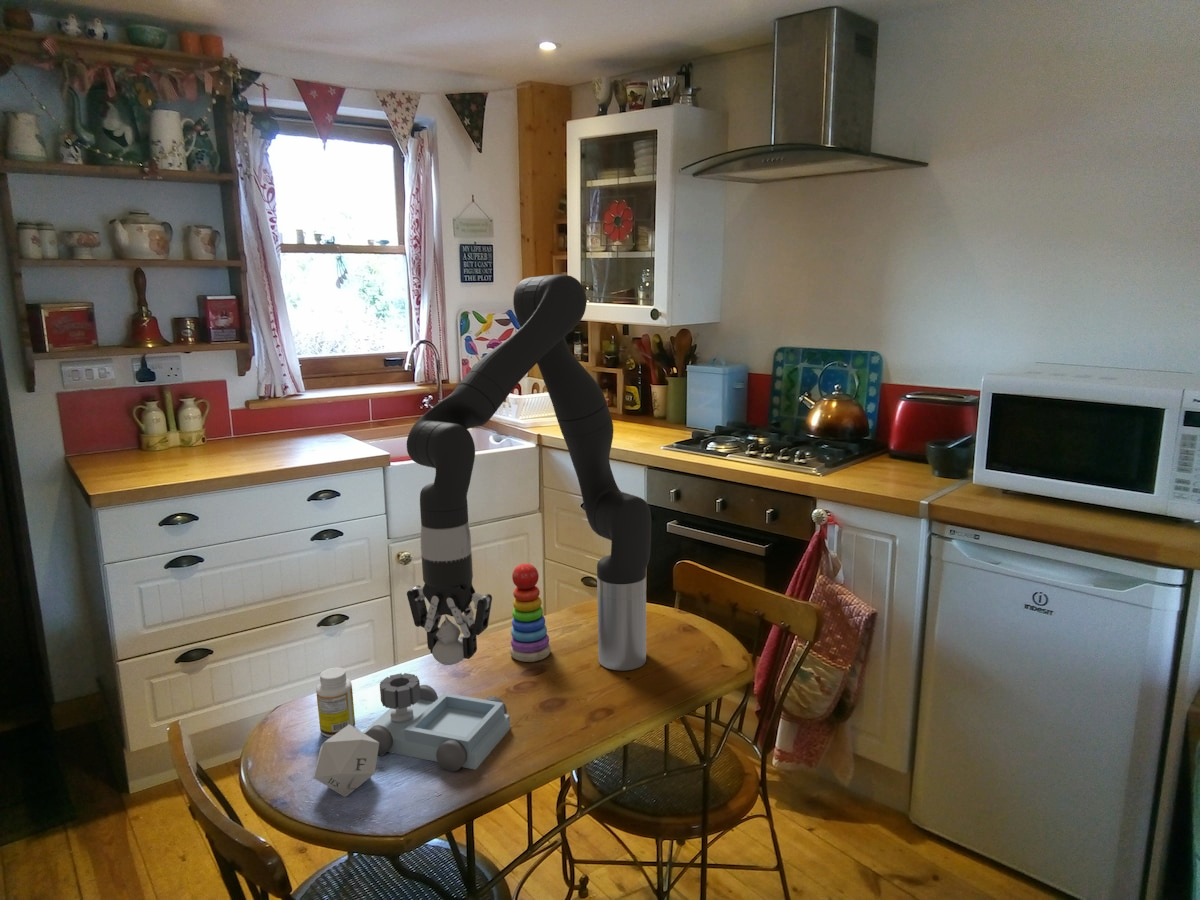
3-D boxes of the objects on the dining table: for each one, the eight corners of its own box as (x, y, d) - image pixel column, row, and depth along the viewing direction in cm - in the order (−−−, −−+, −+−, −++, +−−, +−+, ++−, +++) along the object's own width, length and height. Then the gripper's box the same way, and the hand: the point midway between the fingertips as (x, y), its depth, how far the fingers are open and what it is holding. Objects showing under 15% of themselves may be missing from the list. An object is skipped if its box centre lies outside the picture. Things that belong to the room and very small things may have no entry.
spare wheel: (395, 687, 137) (394, 671, 136) (426, 693, 135) (425, 676, 134) (374, 705, 131) (372, 688, 131) (406, 711, 129) (405, 693, 129)
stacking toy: (532, 642, 166) (529, 554, 162) (559, 654, 161) (556, 563, 157) (501, 655, 161) (498, 564, 157) (528, 667, 155) (525, 574, 151)
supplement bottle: (336, 718, 138) (331, 662, 136) (362, 724, 136) (357, 668, 134) (312, 735, 133) (307, 677, 131) (339, 742, 131) (334, 683, 129)
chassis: (409, 705, 142) (407, 672, 141) (514, 723, 136) (512, 689, 134) (356, 752, 128) (353, 716, 127) (470, 775, 122) (468, 738, 120)
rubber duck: (428, 660, 129) (424, 612, 127) (467, 650, 132) (464, 603, 130) (439, 674, 124) (436, 624, 123) (480, 663, 127) (477, 615, 126)
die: (308, 809, 116) (337, 768, 112) (301, 752, 122) (329, 711, 118) (364, 806, 121) (394, 767, 117) (355, 752, 127) (383, 713, 123)
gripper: (500, 547, 125) (504, 650, 129) (418, 539, 130) (425, 638, 134) (477, 563, 119) (482, 671, 122) (392, 554, 123) (399, 658, 127)
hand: (452, 653), depth 128 cm, fingers closed on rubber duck, 5 cm apart
